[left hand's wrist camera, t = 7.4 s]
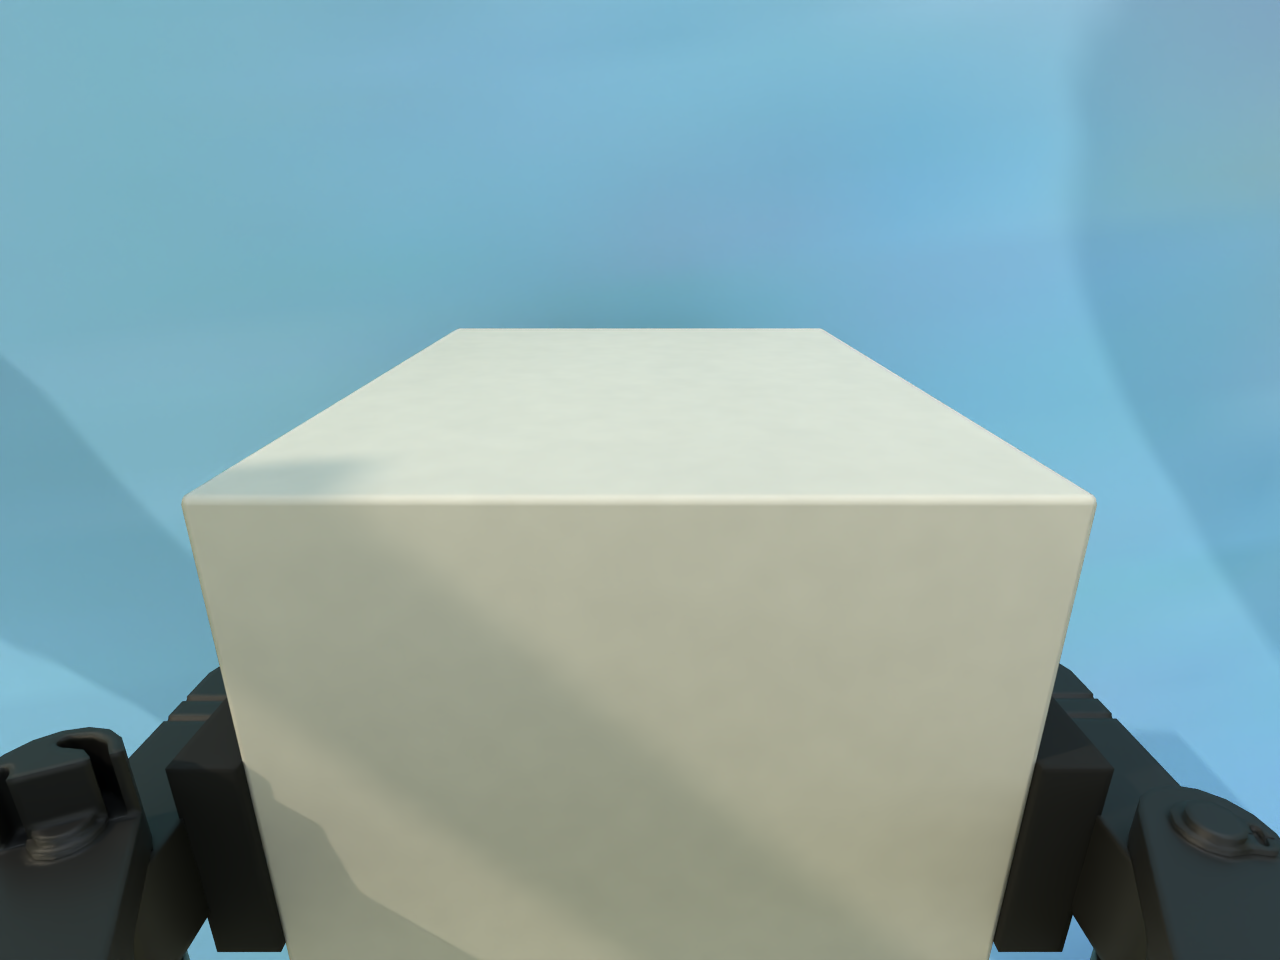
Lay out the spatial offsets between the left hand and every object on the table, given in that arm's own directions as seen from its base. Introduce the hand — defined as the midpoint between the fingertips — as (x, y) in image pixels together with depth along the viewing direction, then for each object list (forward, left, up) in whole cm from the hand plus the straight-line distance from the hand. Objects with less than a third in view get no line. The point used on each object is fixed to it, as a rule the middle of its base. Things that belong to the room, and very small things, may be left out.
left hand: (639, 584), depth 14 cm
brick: (0, 0, -4) cm, 4 cm away
